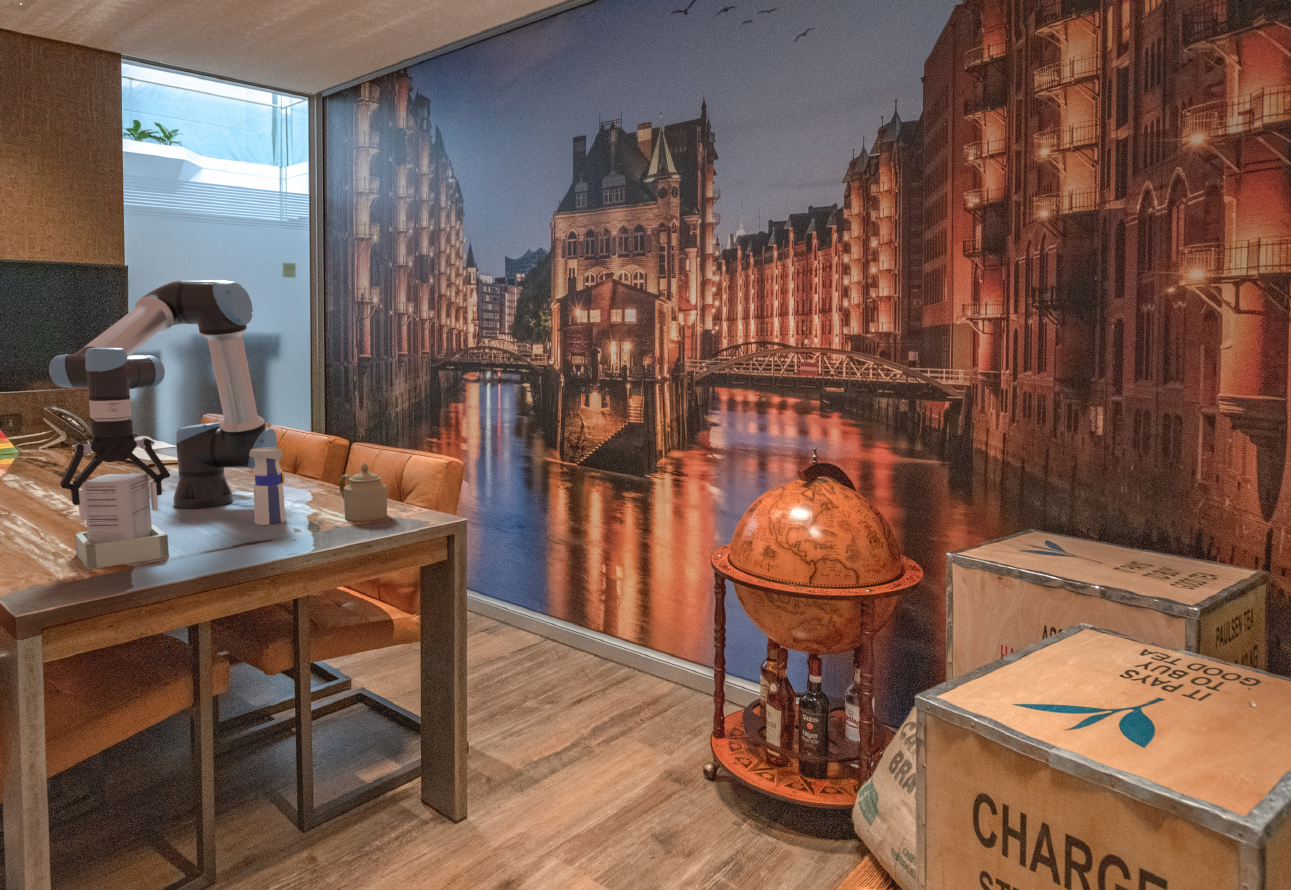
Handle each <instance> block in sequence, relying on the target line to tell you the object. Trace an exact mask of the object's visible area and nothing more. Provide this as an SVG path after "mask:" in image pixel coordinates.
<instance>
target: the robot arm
mask: <svg viewBox="0 0 1291 890" xmlns="http://www.w3.org/2000/svg"><path fill="white" fill-rule="evenodd" d="M253 309H254V308H253V304H252V300H251V297H250V295H249V293H248V291H247V290H246V288H245V287H243V286H242V284H240V283H239V282H236V281H233V280H232V281H230V280H224V279H223V280H222V279H210V280H209V279H205V280H202V279H201V280H187V279H183V280H175V281H171V282H168V283H166V284H163V285H161V286H159V287H157V288H155V289H154V290H151V291H150V292H148V293H146V294H145V295H143V296H142V297H141V298H139V299H138V300H137V301H136V302H135V306H134V308H133V309H132V310H130V311H129V312H128V313H127V314H125V315H124V316H122V318H120V319H119V320H118V321H117V322H115V323H114V324H112V325H110V327H108V328H107V329H105V331H103V332H102V333H100V334H99V335H98V336H97V337H95V338H94V339H92V340H91V341H90V342H88V343H87V344H86V345H85V346H84V347H82V348H81V349H80V350H78V351H76V352H75V353H72V354H69V353H65V354H59V355H56V356H54V357H53V358H52V359H51V361H50V362H49V366H48V373H49V376H50V379H51V380H52V382H53V383H54V384H55V385H57V386H58V387H61V388H69V389H70V388H71V389H87V390H88V402H89V417H90V418H91V419H92V421H91V422H90V425H91V427H90V428H91V443H81V442H76V443H75V445H74V454H73V456H72V458H71V460H70V462H69V464H68V466H67V468H66V470H65V472H64V474H63V476H62V478H61V480H60V482H59V486H60V487H61V488H62V489H66V490H70V493H71V494H70V496H71V502H72V504H73V505H74V506H77V505H78V515H79V519H80V520H81V521H86V513H85V502H84V492H83V488H81V487H82V486H83V482H85V481H88V479H89V478H90V476H91V475H92V474H93V473H94V471H96V469H97V468H98V467H99V466H100V465H101V464H102V463H103V462H106V463H114V462H115V461H116V462H125V461H126V460H128V459H129V460H130V461H131V462H132V463H134V464H135V465H136V466H137V467H138V468H140V469H141V470H142V472H144V474H147V475H148V477H150V478H151V479H152V480H148V483H149V496H150V508H151V510H152V511H154V512H156V511H159V504H158V496H161V495H163V489H162V488H163V487H162V481H163V480H164V479H169V478H170V477H171V474H170V472H169V470H168V469H167V468H166V467H165V465H164V464H163V462H162V461H161V459H160V457H159V456H158V454H157V453H156V452H155V450H154V449H153V445H152V441H151V439H149V438H147V437H144V438H142V439H138V440H137V439H136V440H135V437H134V428H133V426H134V425H133V420H132V419H131V416H132V406H131V393H130V392H131V390H135V389H137V390H138V389H150V388H152V387H156V386H158V385H159V384H160V383H161V382H163V380H164V378H165V375H166V374H165V373H166V371H165V366H164V363H162V361H161V360H160V359H159V358H158V357H156V356H154V355H148V354H138V355H137V354H136V355H134V354H133V353H134V352H136V351H137V350H138V349H139V348H141V347H142V346H143V345H144V344H145V343H146V342H148V341H149V340H150V339H151V338H153V337H154V336H155V335H156V334H158V333H159V332H164V331H167V330H168V329H170V328H172V327H173V326H177V325H197V327H198V330H199V332H198V333H199V334H200V335H201V336H202V337H204V338H205V339H207V342H208V349H209V352H210V357H211V362H212V366H213V367H212V368H213V372H214V377H215V380H216V381H215V382H216V386H217V391H218V395H219V401H220V406H221V409H222V415H223V421H221V422H217V421H216V422H209V423H208V422H207V423H200V424H192V425H187V426H183V427H180V428H178V429H177V430H176V434H175V435H176V436H175V437H176V439H175V445H176V456H177V458H176V459H177V468H178V481H177V483H176V488H175V491H174V495H173V498H172V499H173V506H174V507H177V508H183V509H184V508H186V509H199V508H211V507H218V506H222V505H223V506H224V505H226V504H229V503H232V502H233V500H234V499H233V498H234V497H233V492H232V490H231V487H230V486H229V482H228V480H227V478H226V476H225V469H230V468H231V469H250V470H254V469H255V460H254V457H250V456H249V453H250V450H251V449H255V448H265V447H275V448H278V444H277V443H278V439H277V433H276V431H275V430H274V429H273V428H270V427H267V426H266V421H265V419H264V418H263V417H262V416H260V415H258V411H257V406H256V400H255V395H254V389H253V385H252V378H251V375H250V369H249V363H248V359H247V354H246V349H245V343H244V339H243V335H244V333H246V330H247V329H248V327H247V325H248V324H249V323H250V322H251V321H252V318H253V311H254V310H253ZM132 354H133V355H132ZM138 446H139V448H140V449H143V450H144V451H145V453H146V454H147V456H148V458H149V459H150V460H151V462H152V463H153V464H154V466H155V467H156V469H157V470H158V472H159V473H158V474H157V472H155V471H154V470H153V469H152V468H151V467H149V465H147V464H146V463H145V462H143V461H142V460H141V459H140V458H139V457H138V456H136V455H135V454H134V451H135V449H136V448H137V447H138ZM89 450H91V451H92V452H93V453H94V454H95V455H94V456H93V458H92V459H91V460H90V461H89V463H88V464H87V465H86V466H85V467H84V468H83V470H82V471H81V472H80V473H79V475H78V476H77V477H76V478H75V479H74V480H73V478H74V475H75V473H76V471H77V470H78V467H79V465H80V463H81V462H82V459H83V458H84V457H83V456H84V455H85V454H87V453H88V451H89ZM72 480H73V482H71V481H72Z"/></svg>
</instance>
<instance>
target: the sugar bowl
mask: <svg viewBox="0 0 1291 890" xmlns="http://www.w3.org/2000/svg"><path fill="white" fill-rule="evenodd" d="M360 470H361V472H359V473H355V474H353V475H352V476H351V475H350V474H348V473H347V474H343V475H341V476H340V477H339V480H338V486H339V487H338V488H339V492H340V495H341V497H342V499H343V505H344V518H345V520H347V521H349V522H350V521H351V522H352V521H353V522H371V521H373V522H374V521H378V519H379V520H382V519H384V518H386V517H387V516H388V496H387V495H388V490H387V484H384V483H382V482H381V480H382V477H381V476H379V475H378V474H377V473H374V472H370V471H369V465H368V464H367V463H366V462H363V463H362V465H361V466H360ZM346 483H347V485H346Z"/></svg>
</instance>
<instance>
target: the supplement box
mask: <svg viewBox="0 0 1291 890" xmlns="http://www.w3.org/2000/svg"><path fill="white" fill-rule="evenodd" d="M82 489H83V493H84V504H85V514H86V520H85V522H86V523H85V524H86V532H87V535H88V541H89V542H90V543H91V544H99V543H106V542H113V541H120V540H127V539H135V538H142V537H149V536H152V524H153V523H152V515H151V513H152V512H151V498H150V485H149V475H148V474H147V473H134V474H133V473H130V474H129V473H125V474H123V473H111V474H110V473H109V474H108V473H107V474H103V475H99V476H97V477H94V478H91V479H89V480H88V479H87V480H86V481H85V482H83V484H82ZM151 523H152V524H151Z"/></svg>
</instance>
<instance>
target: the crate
mask: <svg viewBox="0 0 1291 890" xmlns="http://www.w3.org/2000/svg"><path fill="white" fill-rule="evenodd" d="M151 524H152V536H149V537H142V538H135V539H127V540H120V541H113V542H106V543H99V544H91V543H90V542H89V541H88V535H87V531H82V532H81V531H80V532H74V544H75V552H76V553H75V554H76V556H77V558H78V559H79V560H80V562H81V563H82V564H83V565H84V566H85V568H86V569H87V570H95V569H102V568H108V567H113V566H121V565H127V564H133V563H141V562H145V561H152V560H158V559H159V560H161V559H165V558H170V553H169V552H170V550H169V540H168V539H169V538H168V534H166V532H164V531H162V530H161V529H160V528H159V527H157V526H156V525H155V524H154V523H152V522H151Z"/></svg>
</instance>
